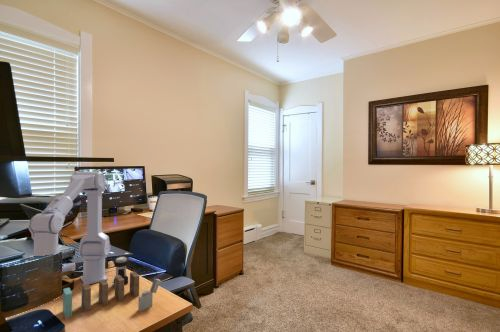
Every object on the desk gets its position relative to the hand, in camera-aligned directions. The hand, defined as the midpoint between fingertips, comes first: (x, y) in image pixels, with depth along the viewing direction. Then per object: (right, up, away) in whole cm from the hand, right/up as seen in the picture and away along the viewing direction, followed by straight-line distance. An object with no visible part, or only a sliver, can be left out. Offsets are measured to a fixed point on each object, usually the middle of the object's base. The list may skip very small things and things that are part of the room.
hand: (45, 300), depth 78 cm
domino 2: (+19, -6, +17) cm, 26 cm away
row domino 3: (+15, -6, +14) cm, 21 cm away
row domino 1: (+8, -6, +7) cm, 12 cm away
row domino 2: (+11, -6, +10) cm, 17 cm away
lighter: (+27, -7, +9) cm, 30 cm away
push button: (+10, -6, +24) cm, 27 cm away
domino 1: (+4, -6, +4) cm, 8 cm away
